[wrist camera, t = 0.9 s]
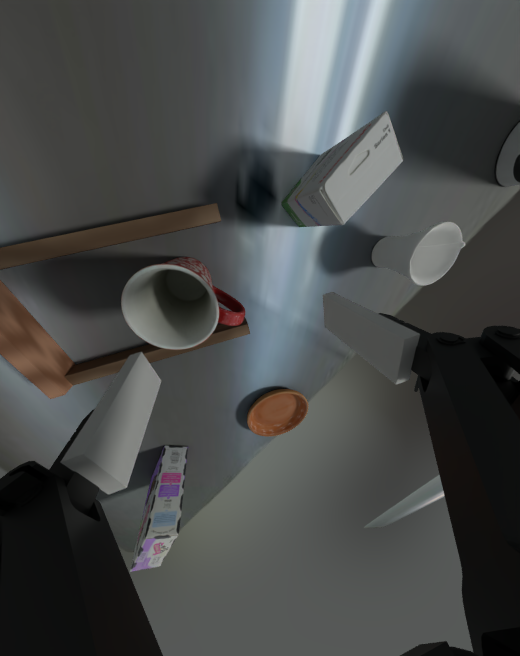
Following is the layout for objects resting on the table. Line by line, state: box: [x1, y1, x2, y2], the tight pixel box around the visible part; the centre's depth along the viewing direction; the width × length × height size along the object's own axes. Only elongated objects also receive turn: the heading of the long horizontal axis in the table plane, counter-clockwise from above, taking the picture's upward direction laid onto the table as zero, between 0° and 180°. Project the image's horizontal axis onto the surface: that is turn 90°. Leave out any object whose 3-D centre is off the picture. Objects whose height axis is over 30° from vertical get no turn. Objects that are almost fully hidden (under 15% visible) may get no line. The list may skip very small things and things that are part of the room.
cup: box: [371, 222, 465, 286], centre depth 32 cm, size 9×9×10 cm
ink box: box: [282, 111, 403, 227], centre depth 24 cm, size 8×5×12 cm, turn 136°
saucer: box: [247, 389, 308, 436], centre depth 48 cm, size 16×16×3 cm
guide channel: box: [0, 203, 250, 399], centre depth 28 cm, size 20×32×5 cm, turn 101°
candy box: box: [130, 445, 188, 572], centre depth 42 cm, size 14×6×16 cm, turn 154°
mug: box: [121, 257, 245, 350], centre depth 25 cm, size 13×9×14 cm
